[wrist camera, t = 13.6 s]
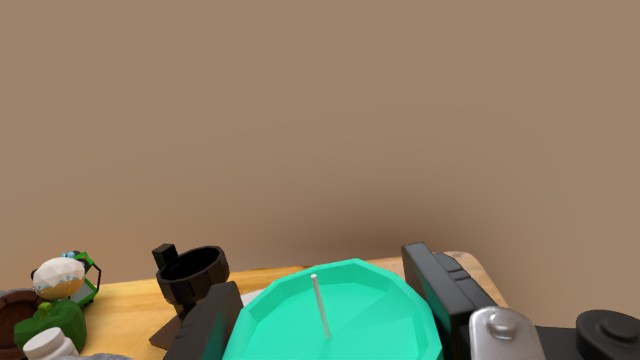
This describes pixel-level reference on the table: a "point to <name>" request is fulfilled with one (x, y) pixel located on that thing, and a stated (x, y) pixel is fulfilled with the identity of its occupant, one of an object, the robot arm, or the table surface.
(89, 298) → the toy car
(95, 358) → the rock
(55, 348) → the pill bottle
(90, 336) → the table surface
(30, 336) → the bell pepper
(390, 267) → the table surface
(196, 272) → the ring holder stand
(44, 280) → the ornament
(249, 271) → the table surface
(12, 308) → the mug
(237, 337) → the candle
